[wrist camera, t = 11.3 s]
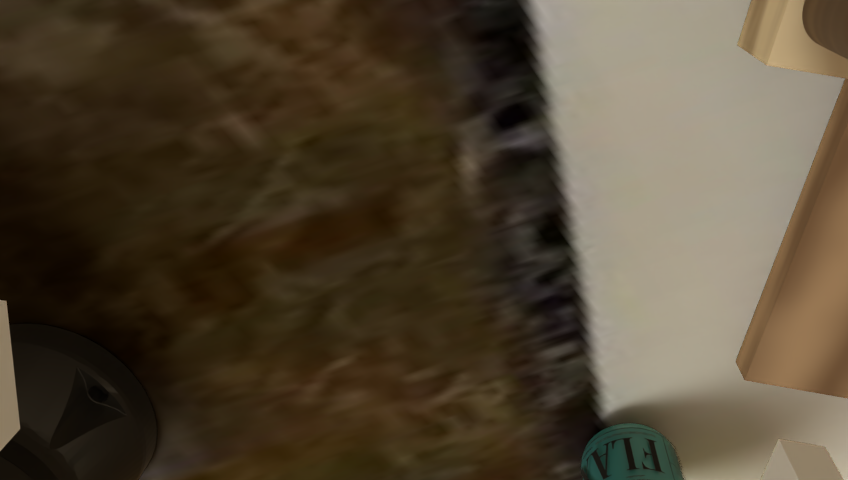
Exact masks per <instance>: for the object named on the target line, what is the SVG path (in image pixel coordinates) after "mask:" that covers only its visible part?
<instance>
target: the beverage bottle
mask: <svg viewBox="0 0 848 480" xmlns="http://www.w3.org/2000/svg"><path fill="white" fill-rule="evenodd" d="M669 442H670V441H669V440H667V439H666V438H665V437H664V436H663V435H662V434H661V433H659V432H658V431H656V430H654V429H652V428H650V427H648V426H644V425H641V424H634V423H625V424H618V425H614V426H611V427H608V428H606V429H604V430H602V431H600V432H599V433H597V434H596V435H595V436H594V437H593V438H592V439H591V440H590V441H589V442H588V444H587V446H586V448H585V450H584V452H583V454H582V455H583V457H582V456H581V457H582V462H581V466H580V464H579V466H580V469H581V468H582V470H581V474H582V476H583V480H683V476H684V475H683V476H682V472H681V470H682V469H681V468H680V467H682V466H680V465H679V464H680V463H679V462H680V461H681V460H679V462H678V459H679V458H677V456H676V453H677V452H675V449H676V448H675V449H674V448H673V447H672V445H673V444H672V443H671V442H670V443H671V444H672V445H671V444H670V443H669ZM580 460H581V459H580ZM682 468H683V467H682ZM685 478H686V477H685ZM684 480H685V479H684Z"/></svg>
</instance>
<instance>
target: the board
mask: <svg viewBox="0 0 848 480" xmlns="http://www.w3.org/2000/svg"><path fill="white" fill-rule="evenodd" d="M736 363H737V365H738V367H739V370H740V372H741V374H742V376H743V378H744V380H747V381H752V382H758V383H764V384H769V385H775V386H781V387H786V388H792V389H798V390H803V391H809V392H815V393H820V394H826V395H832V396H838V397H843V398H848V79H847V78H845V81H844V84H843V86H842V89H841V91H840V94H839V96H838V99H837V102H836V104H835V107H834V109H833V112H832V115H831V117H830V120H829V122H828V125H827V127H826V130H825V133H824V135H823V138H822V140H821V143H820V145H819V148H818V151H817V153H816V156H815V158H814V161H813V164H812V166H811V169H810V171H809V174H808V176H807V179H806V182H805V184H804V187H803V189H802V192H801V194H800V197H799V200H798V202H797V205H796V207H795V210H794V212H793V215H792V218H791V220H790V223H789V225H788V228H787V231H786V233H785V236H784V238H783V241H782V243H781V246H780V249H779V251H778V254H777V256H776V259H775V261H774V264H773V267H772V269H771V272H770V274H769V277H768V279H767V282H766V285H765V287H764V290H763V292H762V295H761V298H760V300H759V303H758V305H757V308H756V310H755V313H754V316H753V318H752V321H751V323H750V326H749V328H748V331H747V334H746V336H745V339H744V341H743V344H742V346H741V349H740V352H739V354H738V357H737V359H736Z"/></svg>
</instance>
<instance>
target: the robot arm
mask: <svg viewBox="0 0 848 480" xmlns="http://www.w3.org/2000/svg"><path fill="white" fill-rule="evenodd" d="M156 440H157V425H156V419H155V414H154V411H153V408H152V405H151V403H150V400H149V398H148V396H147V394H146V392H145V391H144V389H143V387H142V386H141V384H140V383H139V381H138V380H137V379H136V378H135V376H134V375H133V374H132V373H131V372H130V370H129V369H128V368H127V367H126V366H125V365H124V364H123V363H122V362H120V361H119V360H118V359H117V358H116V357H115V356H113V355H112V354H111V353H110V352H108V351H107V350H105V349H104V348H102V347H101V346H99V345H98V344H96V343H94V342H92V341H91V340H89V339H87V338H85V337H82V336H80V335H78V334H75V333H73V332H70V331H67V330H64V329H61V328H57V327H53V326H48V325H41V324H12V325H9V319H8V310H7V301H3V300H0V480H138V479H139V478H140V476H141V474H142V473H143V471H144V470H145V468H146V466H147V465H148V463H149V461H150V460H151V458H152V455H153V453H154V450H155V446H156ZM761 480H844V479H843V478H842V476H841V474H840V472H839V471H838V469H837V467H836V465H835V464H834V462H833V460H832V458H831V457H830V455H829V453H828V451H827V450H826V448H825V447H823V446H817V445H812V444H806V443H800V442H795V441H789V440H784V439H778V441H777V443H776V446H775V448H774V450H773V452H772V455H771V457H770V459H769V462H768V464H767V466H766V468H765V471H764V473H763V475H762V477H761Z"/></svg>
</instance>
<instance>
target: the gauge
mask: <svg viewBox="0 0 848 480" xmlns="http://www.w3.org/2000/svg"><path fill="white" fill-rule="evenodd" d="M737 45H738V46H739V47H741V48H742V49H744V50H745V51H747V52H748V53H750V54H751V55H752V56H754V57H755V58H757V59H758V60H760V61H761V62H763V63H764V64H766V65H768V66H774V67H780V68H786V69H792V70H799V71H805V72H811V73H817V74H823V75H829V76H835V77H841V78H847V79H848V0H751V3H750V7H749V10H748V13H747V16H746V19H745V22H744V25H743V29H742V32H741V35H740V38H739V41H738V44H737Z"/></svg>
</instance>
